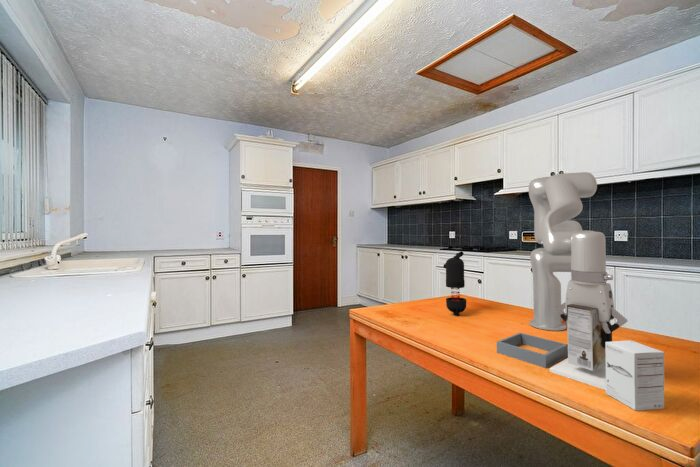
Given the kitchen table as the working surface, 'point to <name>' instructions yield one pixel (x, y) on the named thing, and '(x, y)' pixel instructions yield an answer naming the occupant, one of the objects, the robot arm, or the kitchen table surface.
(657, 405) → the supplement box
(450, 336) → the kitchen table surface
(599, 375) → the mat
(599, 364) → the coffee box
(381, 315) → the kitchen table surface
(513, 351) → the packet holder
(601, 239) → the robot arm
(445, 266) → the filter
